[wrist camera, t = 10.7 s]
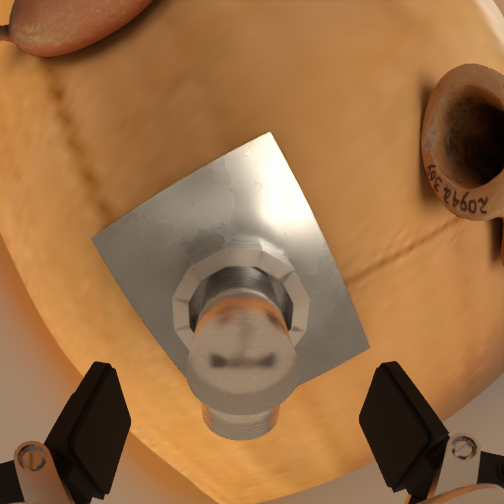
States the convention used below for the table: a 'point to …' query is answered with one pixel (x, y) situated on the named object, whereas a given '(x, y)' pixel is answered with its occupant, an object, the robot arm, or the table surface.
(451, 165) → the clay pipe
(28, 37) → the ceramic jug
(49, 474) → the robot arm
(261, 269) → the flange
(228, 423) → the grey rounded piece
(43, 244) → the table surface
